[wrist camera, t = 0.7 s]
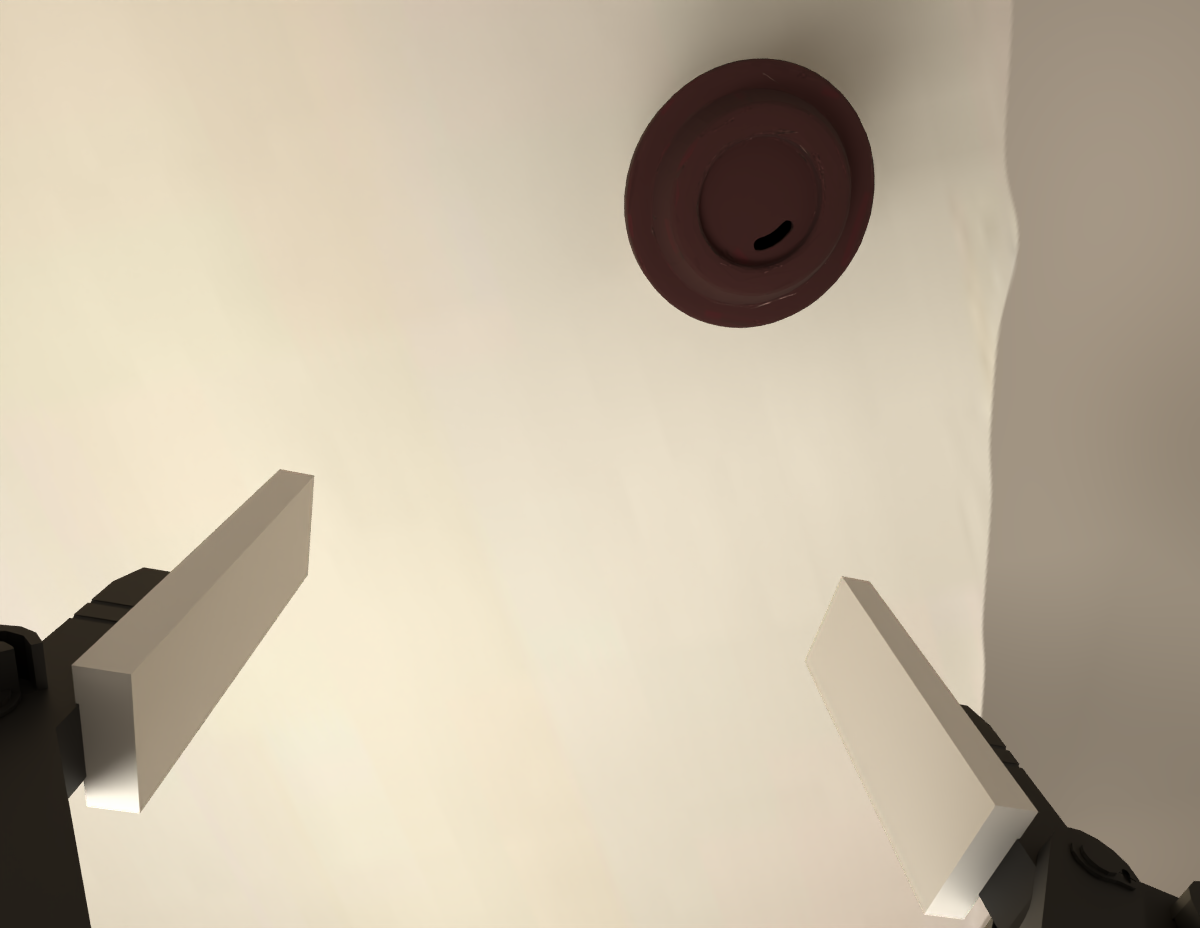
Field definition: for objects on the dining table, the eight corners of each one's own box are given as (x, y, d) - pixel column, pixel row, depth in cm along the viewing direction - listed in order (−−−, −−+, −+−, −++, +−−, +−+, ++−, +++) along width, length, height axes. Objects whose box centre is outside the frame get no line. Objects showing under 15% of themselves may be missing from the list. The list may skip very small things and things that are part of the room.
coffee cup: (612, 102, 36) (632, 46, 22) (788, 104, 36) (918, 50, 22) (609, 286, 40) (626, 336, 26) (769, 286, 40) (869, 336, 26)
